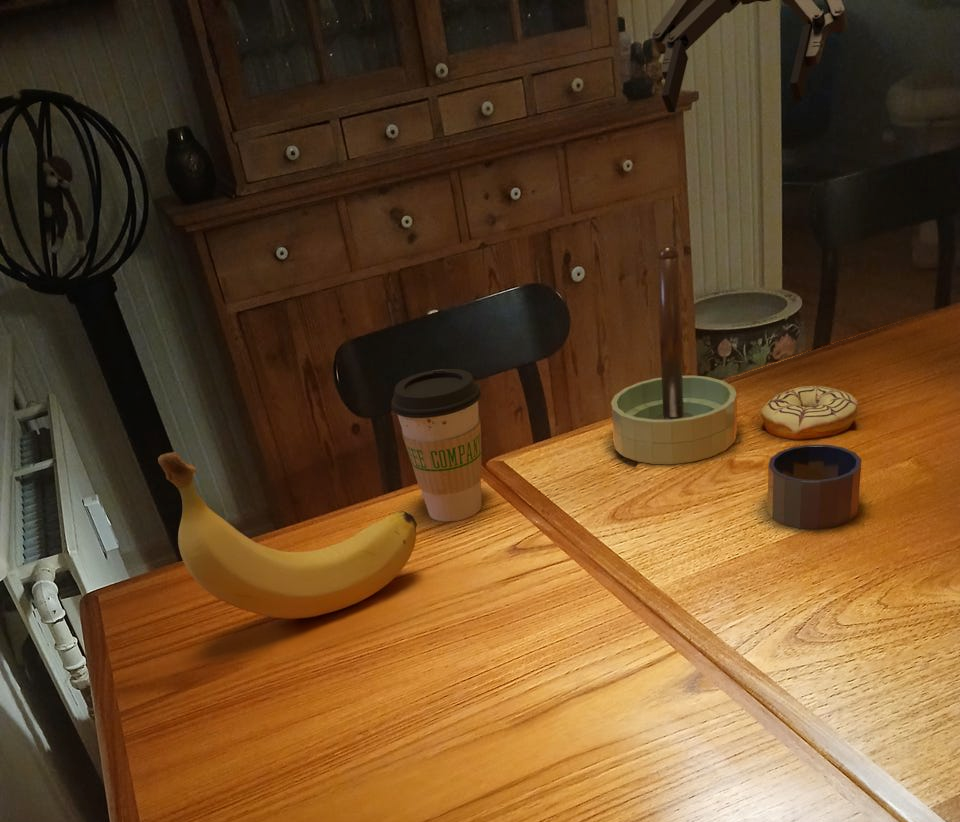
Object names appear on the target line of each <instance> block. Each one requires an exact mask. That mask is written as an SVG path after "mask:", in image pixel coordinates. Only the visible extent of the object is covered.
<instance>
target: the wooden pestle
mask: <svg viewBox="0 0 960 822" xmlns="http://www.w3.org/2000/svg"><path fill="white" fill-rule="evenodd" d="M680 274H681V273H680V253H679V250H678V248H677V247H676V246H674V245H672V244H665V245H663V246H661V247H660V248H659V249H658V251H657V253H656V275H657V276H656V278H657V300H658V301H657V303H658V304H657V305H658V323H659V324H658V325H659V327H658V328H659V350H660V351H659V353H660V374H661V375H660V376H661V377H660V378H662V402H663V414H661V415H658V416H656V417H655V418H654V420H671V419H679V418H687V417H693V415H692V414H689V413H686V412H683V377H682V376H683V347H682V314H681V313H682V312H681V311H682V310H681V308H682V307H681V279H680V278H681V277H680Z"/></svg>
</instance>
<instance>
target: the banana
mask: <svg viewBox="0 0 960 822" xmlns="http://www.w3.org/2000/svg"><path fill="white" fill-rule="evenodd" d="M157 463H158V464H159V466H160V467H161V469H162V471H163V472H164V473H165V479H166V480H167V481H169V482H171V483H172V484H173V485H174V486H175V487H176V488H177V489H178V491H179V493H180V494H179V495H180V496H181V502H182V513H181V518H180V522H179V527H178V532H177V533H178V536H177V544H178V549H179V554H180V557H181V559H182V561H183V564H184V566H185V567H186V569H187V571H188V573H189V574H190V575H191V577H192V578H193V579H194V581H196V583H197V584H198V585H199V586H200V587H202V589H204V590H205V591H206V592H207V593H209V594H210V595H211V596H213V597H214V598H216V599H218V600H220V601H221V602H223V603H225V604H227V605H229V606H232V607H233V608H237V609H240V610H242V611H246V612H250V613H253V614H257V615H259V616H260V615H261V616H264V617H265V616H266V617H269V618H275V619H277V618H278V619H287V620H289V619H291V620H292V619H293V620H294V619H307V618H313V617H319V616H323V615H326V614H329V613H333V612H336V611H339V610H342V609H345V608H348V607H350V606H354V605H356V604H357V603H360V602H362V601H364V600H366V599H368V598H370V597H371V596H373V595H374V594H376V593H377V592H379V591H380V590H382V589H383V588H384V587H386V586H387V585H388V584H390V583H391V582H392V581H393V580H394V579H395V578H396V577H397V576H398V575H399V574H400V573H401V572H402V570H403V569H404V568H405V566H406V565H407V563H408V562H409V559H410V558H411V556H412V554H413V551H414V549H415V546H416V542H417V534H418V533H417V526H418V524H417V523H418V522H417V521H416V519H415V516H413V514H411V513H408V512H407V511H404V510H401V511H397V512H395V513H392V514H391V515H388V516H386V517H384V518H382V519H380V520H378V521H376V522H374V523H373V524H370V525H369V526H367V527H366V528H364V529H362V530H361V531H359V532H358V533H356V534H353V535H352V536H350V537H349V538H347V539H344V540H342V541H339V542H337V543H335V544H331V545H328V546H326V547H322V548H319V549H313V550H308V551H285V550H284V551H283V550H278V549H275V548H272V547H268V546H266V545H263V544H260V543H258V542H257V541H254V540H252V539H251V538H249V537H248V536H246V535H244V534H243V533H242V532H240V531H239V530H238V529H236V528H235V527H234V526H233V525H231V524H230V523H229V522H228V521H227V520H225V519H224V518H223V517H221V516H220V515H219V514H217V513H215V511H214V510H212V509H210V508H209V506H208V505H207V504H206V503H205V501H204V500H203V498H202V497H201V495H200V494H199V492H198V491H197V489H196V487H195V484H194V474H196V472H197V468H196V467H195V466H194V465H192V464H190V463H187V462H185V461H184V460H183V459H182V458H181V457H180V455H179V454H178V453H177V452H175V451H172V452H165V453H163V454H160V455H159V456H158V458H157Z"/></svg>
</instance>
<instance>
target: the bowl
mask: <svg viewBox="0 0 960 822" xmlns="http://www.w3.org/2000/svg"><path fill="white" fill-rule="evenodd" d="M682 377H683V412H686V413H689V414H692V415H693V417H687V418H679V419H671V420H654V418H655V417H656V416H658V415H661V414H663V402H662V377H656V378H655V377H654V378H651V379H647V380H643V381H639V382H637V383H634V384H632V385H629V386H627V387H625V388H623V389H621V390H620V391H619V392H617V393H616V394H614V396H613V398H612V399H611V401H610V409H611V411H610V412H611V422H612V423H611V425H612V436H613V437H612V439H613V445H614V449H615V450H616V451H617V452H618V454H620V455H621V456H622V457H624V458H626V459H629V460H632V461H635V462H638V463H639V462H640V463H646V464H651V465H677V464H678V465H680V464H687V463H693V462H697V461H701V460H705V459H709V458H713V457H714V456H716V455H719V454H720V453H723V452H725V451H727V450H728V449H729V448H730V447H731V446H732V445H733V444H734V443H735V441H736V438H737V435H738V433H737V432H738V393H737V391H736V389H735V387H734V386H733V385H732V384H730V383H728V382H726V381H725V380H722V379H717V378H714V377H711V376H704V375H703V376H702V375H682Z"/></svg>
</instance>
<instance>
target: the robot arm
mask: <svg viewBox="0 0 960 822" xmlns="http://www.w3.org/2000/svg"><path fill="white" fill-rule="evenodd" d="M771 1H772V0H675V1H674V3H673V4H672V5H671V7H670V8H669V9H668V10H667V12H666V14H665V15H664V16H663V18H662V19H661V20H660V22H659V23H658V24H657V26H656V28H655V29H654V30H653V32H652V35H651V37H652V39H653V41H654V44H655V47H656V49H657V53H658V54H660V55H663V58H662V63H661V67H660V71H661V74H662V77H663V80H664V84H663V89H662V92H661V98H662V100H663V101H662V102H663V103H664V105H665V107H666V110H667V113H668V114H670V113H676V110H677V106H678V102H679V97H680V93H681V88H682V85H683V80H684V78H685V77H684V76H685V74H686V73H685V72H686V69H687V65H688V60H689V57H688V54H687V50H689V49H690V48H691V47H692V46H693V45H694V44H695V43H696V42H698V40H699V39H700V38H701V37H702V36H703V35H704V34H705V33H706V32H707V31H708V30H709V29H710V28H711V27H712V26H713V25H714V24H715V23H716V22H718V21H719V20H720V19H721V18H722V17H723V16H724V15H725V14H726V13H727V14H730V13H731V12H732V11H733V10H734V9H735V8H737V7H738V5H740V4H741V5H742V6H745V5H750V4H752V3H755V2H762V3H766V2H771ZM781 1H782V3H783V4H784V5H785V6H788V7H789V8H790V10H791V11H792V12H793V14H794V15H795V16H796V17H797V18H798V20H799V21H800V22H801V23H802V24H803V25H802V30H801V34H800V37H799V41H798V42H799V43H798V47H797V50H796V55H795V59H794V64H793V67H792V72H791V77H790V81H789V86H790V90H791V94H792V98H793V102H802V100H803V96H804V92H805V88H806V84H807V79H808V75H809V71H810V67H815V66H816V67H817V66H818V65H819V63H820V62H821V60H822V56H823V55H822V54H823V50H824V47H825V41H826V39H827V38H828V36H829V35H831V34H833V33H836V34H842V33H844V32H846V30H847V28H848V24H847V23H848V22H847V16H846V11H845V6H844V3H843V0H823V2H824V5H825V8H826V10H827V13H825V11H824V8H822V9H820V8H819V6H818V5H817V4H816V3H815V2H814V1H813V0H781Z"/></svg>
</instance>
